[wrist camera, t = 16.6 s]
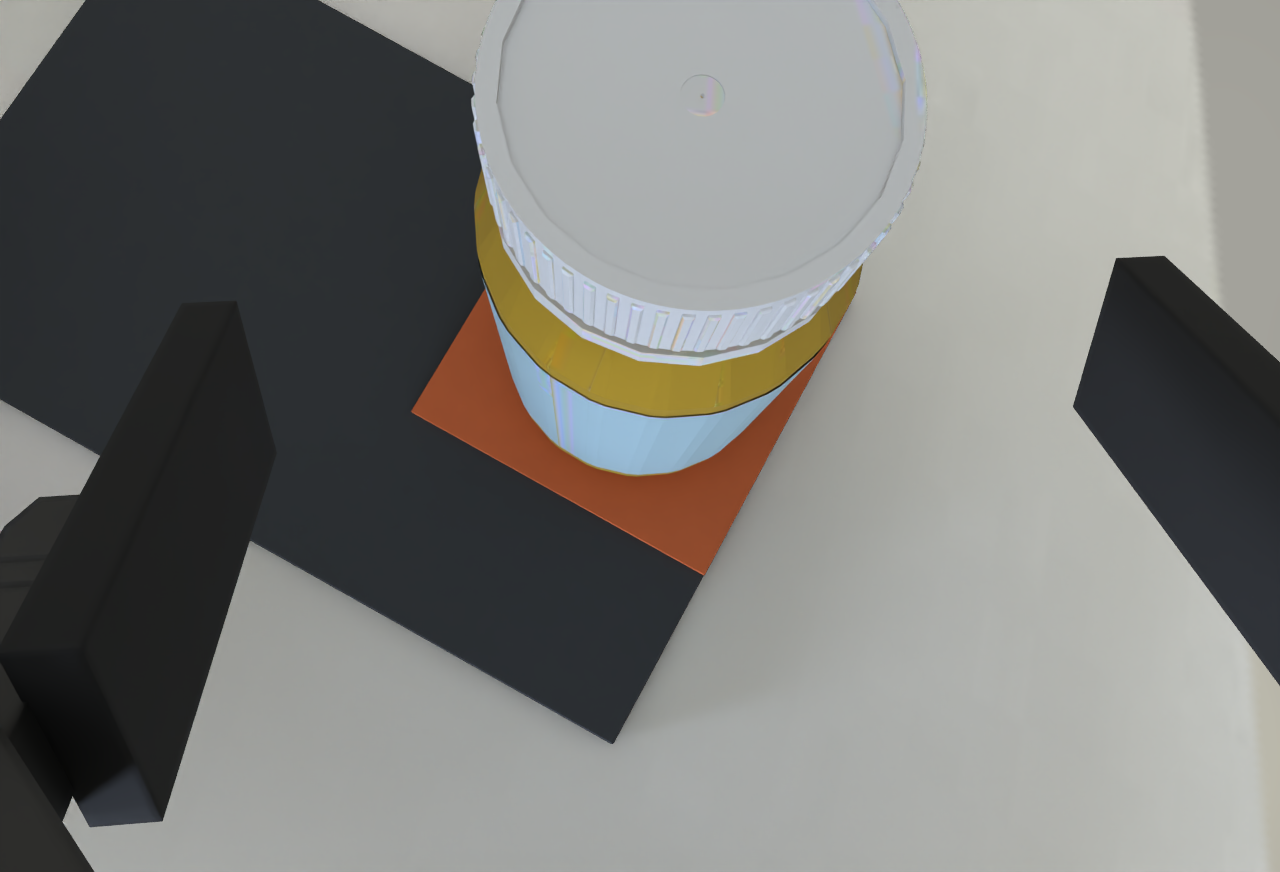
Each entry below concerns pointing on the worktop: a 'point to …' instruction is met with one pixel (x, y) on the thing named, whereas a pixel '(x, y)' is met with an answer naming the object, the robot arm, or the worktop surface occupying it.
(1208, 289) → the worktop surface
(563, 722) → the worktop surface
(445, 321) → the corner mat
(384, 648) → the worktop surface
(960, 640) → the worktop surface
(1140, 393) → the robot arm
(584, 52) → the bottle
